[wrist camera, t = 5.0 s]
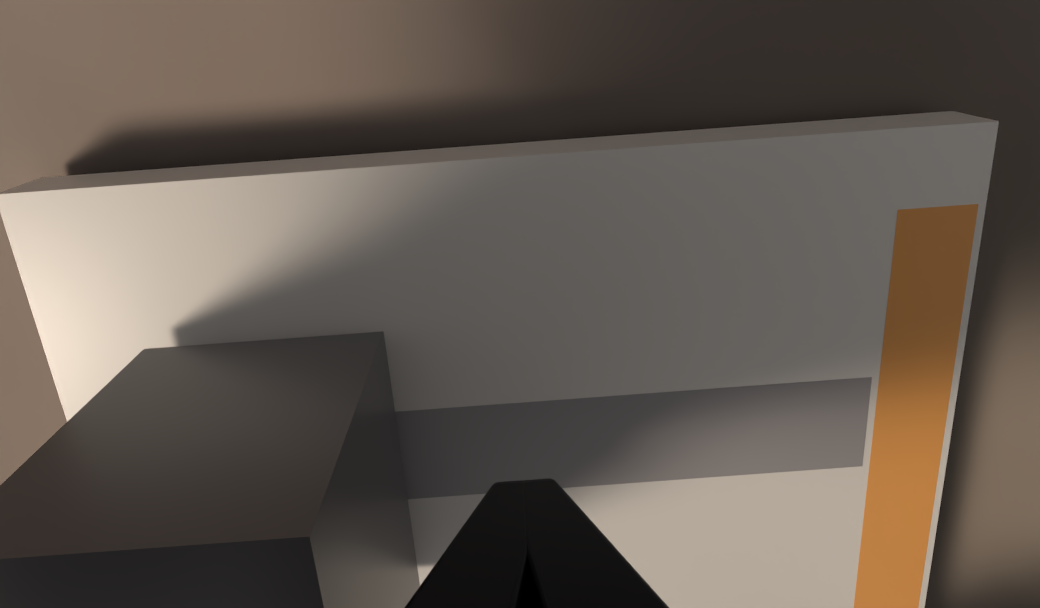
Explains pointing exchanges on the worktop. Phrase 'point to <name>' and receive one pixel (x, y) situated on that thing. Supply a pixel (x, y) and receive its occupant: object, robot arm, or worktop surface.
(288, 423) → the slider
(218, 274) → the switch plate
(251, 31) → the worktop surface
